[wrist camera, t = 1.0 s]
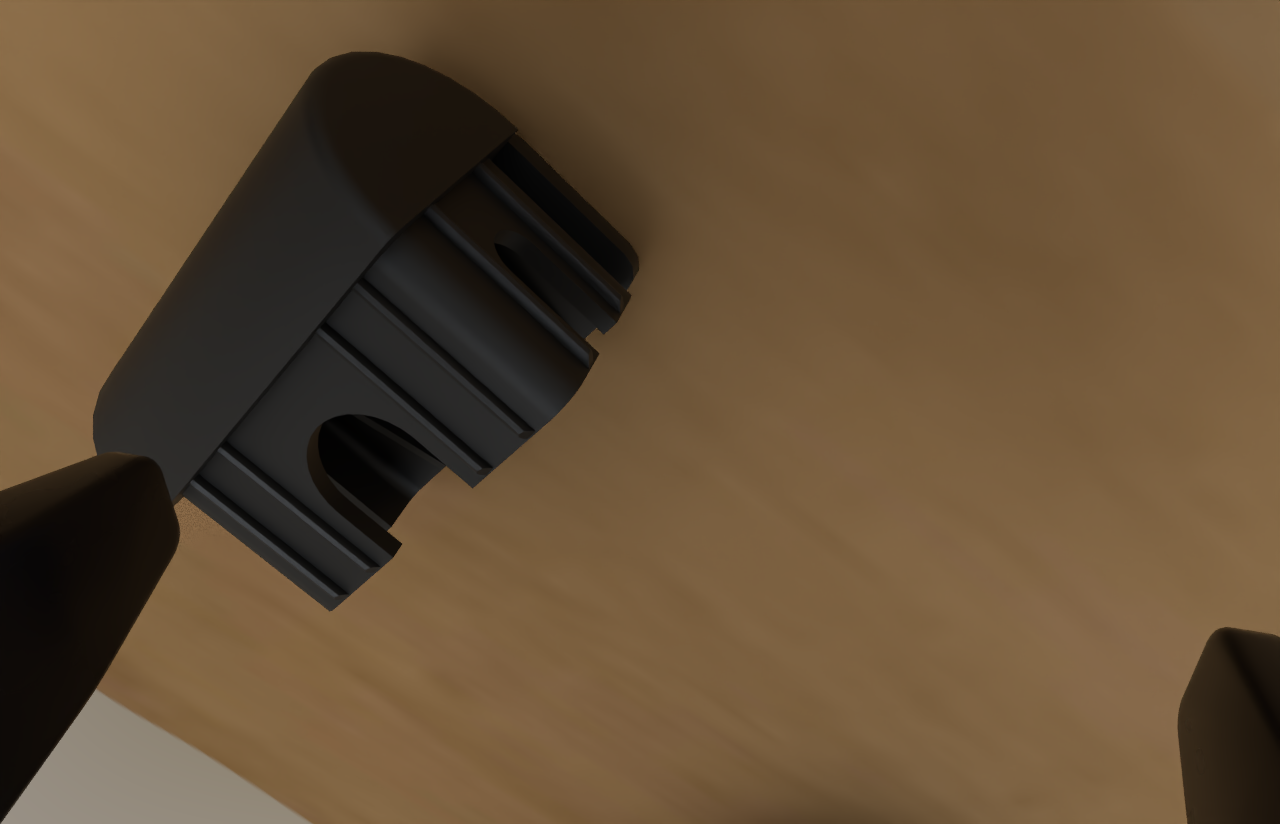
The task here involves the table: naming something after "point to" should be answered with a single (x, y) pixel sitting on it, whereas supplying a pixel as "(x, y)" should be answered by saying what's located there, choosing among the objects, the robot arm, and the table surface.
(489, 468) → the end cap
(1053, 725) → the table surface
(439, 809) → the table surface
